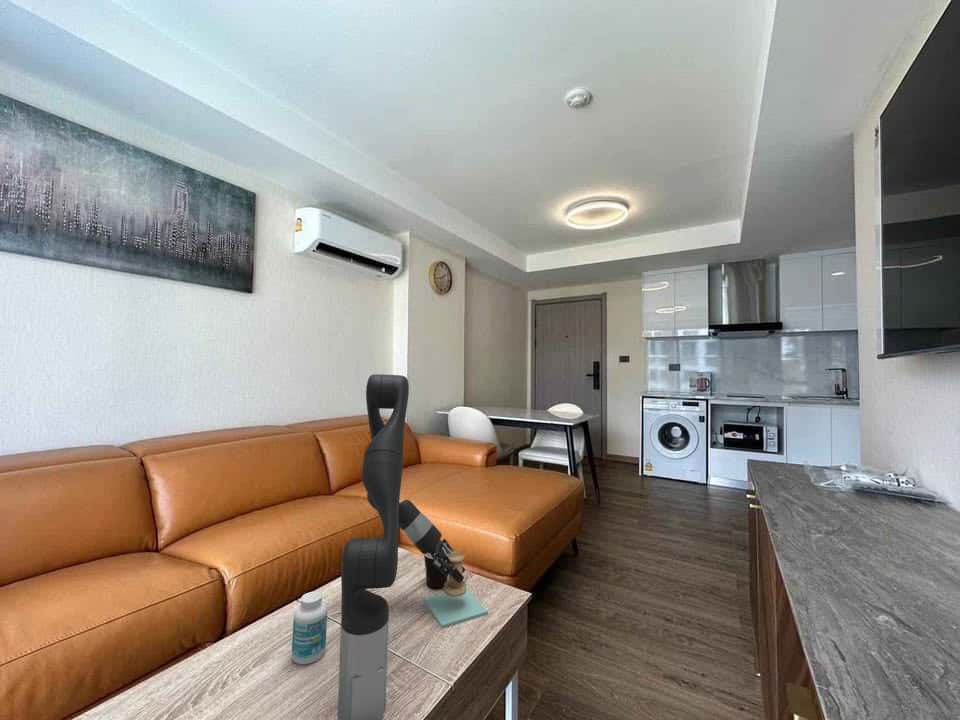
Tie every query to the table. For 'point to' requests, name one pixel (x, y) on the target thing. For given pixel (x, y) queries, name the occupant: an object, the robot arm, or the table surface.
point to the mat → (454, 608)
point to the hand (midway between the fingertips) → (462, 576)
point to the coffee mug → (433, 574)
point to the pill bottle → (309, 629)
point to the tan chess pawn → (451, 585)
